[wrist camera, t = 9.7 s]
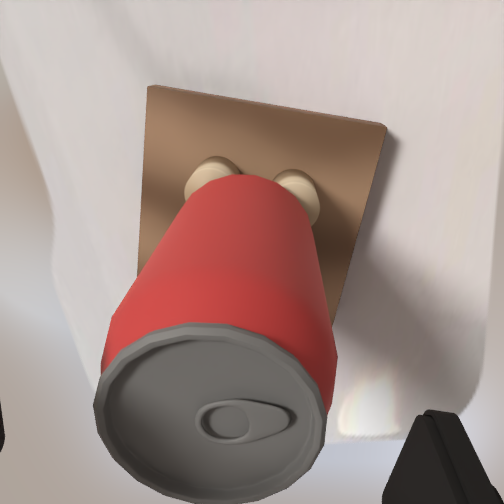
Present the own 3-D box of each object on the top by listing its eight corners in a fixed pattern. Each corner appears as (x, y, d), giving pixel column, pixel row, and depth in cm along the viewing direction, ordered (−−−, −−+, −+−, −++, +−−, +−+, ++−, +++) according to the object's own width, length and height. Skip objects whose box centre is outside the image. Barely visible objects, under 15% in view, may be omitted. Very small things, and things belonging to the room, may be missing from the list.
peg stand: (155, 84, 23) (128, 90, 19) (380, 123, 23) (403, 137, 19) (142, 284, 28) (119, 323, 24) (329, 314, 28) (337, 358, 24)
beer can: (317, 290, 22) (357, 516, 11) (191, 302, 23) (112, 527, 12) (305, 161, 20) (340, 293, 9) (163, 180, 20) (29, 323, 9)
